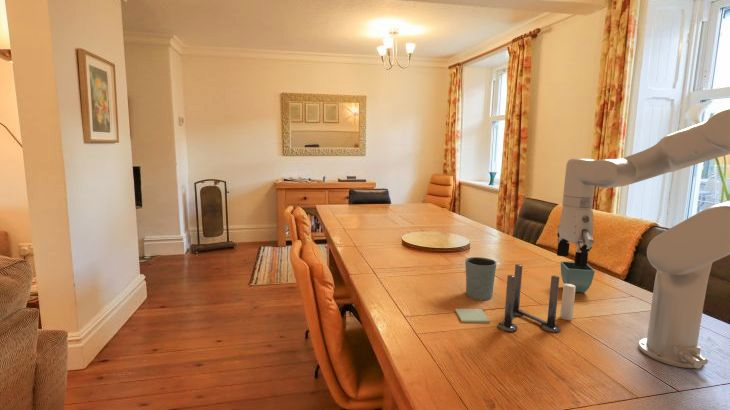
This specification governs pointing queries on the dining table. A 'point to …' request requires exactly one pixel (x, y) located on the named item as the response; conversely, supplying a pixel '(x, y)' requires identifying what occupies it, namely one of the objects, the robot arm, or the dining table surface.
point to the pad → (472, 315)
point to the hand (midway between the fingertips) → (571, 260)
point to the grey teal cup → (480, 277)
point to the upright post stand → (514, 310)
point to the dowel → (567, 301)
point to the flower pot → (577, 276)
